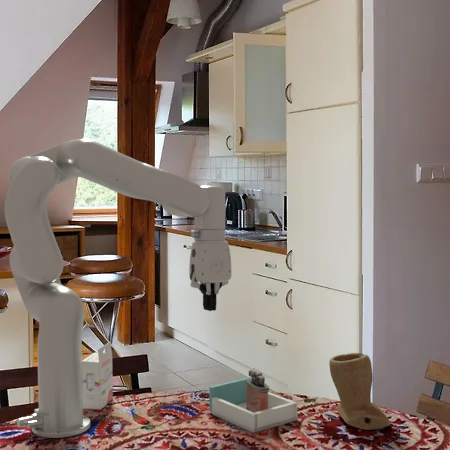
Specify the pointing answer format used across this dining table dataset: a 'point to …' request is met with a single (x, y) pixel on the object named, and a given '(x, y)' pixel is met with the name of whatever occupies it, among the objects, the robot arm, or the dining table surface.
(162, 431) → the dining table surface
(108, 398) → the ink cartridge box
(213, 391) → the box door
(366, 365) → the clay boot vessel
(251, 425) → the box
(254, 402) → the lighter
